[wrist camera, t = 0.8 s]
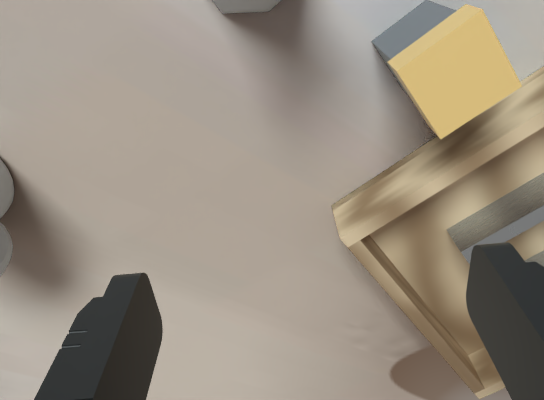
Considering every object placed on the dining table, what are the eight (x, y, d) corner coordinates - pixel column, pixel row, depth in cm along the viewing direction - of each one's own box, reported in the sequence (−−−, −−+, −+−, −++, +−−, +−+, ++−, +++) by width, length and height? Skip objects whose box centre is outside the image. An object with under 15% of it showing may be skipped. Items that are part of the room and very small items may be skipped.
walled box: (585, 38, 30) (634, 53, 26) (675, 253, 38) (722, 288, 35) (331, 205, 36) (339, 238, 32) (459, 358, 44) (479, 399, 40)
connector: (428, -8, 28) (482, 9, 21) (462, 52, 30) (522, 86, 23) (365, 40, 30) (396, 71, 23) (401, 95, 31) (440, 139, 24)
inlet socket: (544, 172, 34) (568, 191, 31) (582, 242, 37) (606, 265, 34) (446, 229, 36) (460, 252, 33) (490, 290, 39) (506, 315, 36)
